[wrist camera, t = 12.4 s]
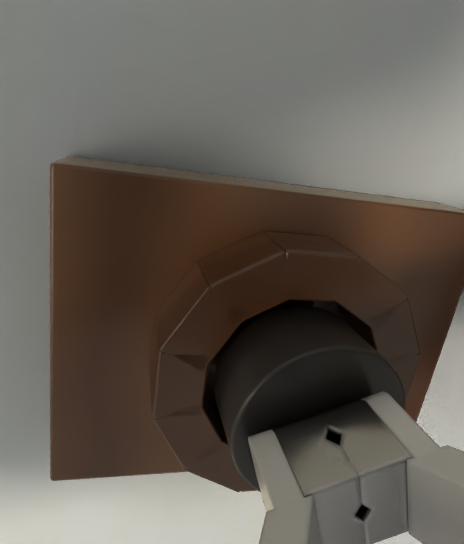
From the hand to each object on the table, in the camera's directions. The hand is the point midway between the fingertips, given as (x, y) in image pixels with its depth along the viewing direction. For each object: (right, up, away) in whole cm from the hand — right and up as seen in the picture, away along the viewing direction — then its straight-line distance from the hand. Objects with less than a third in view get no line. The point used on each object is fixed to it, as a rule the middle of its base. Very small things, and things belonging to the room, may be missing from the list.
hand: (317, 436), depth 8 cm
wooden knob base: (-1, +2, +5) cm, 6 cm away
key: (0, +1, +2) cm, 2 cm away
